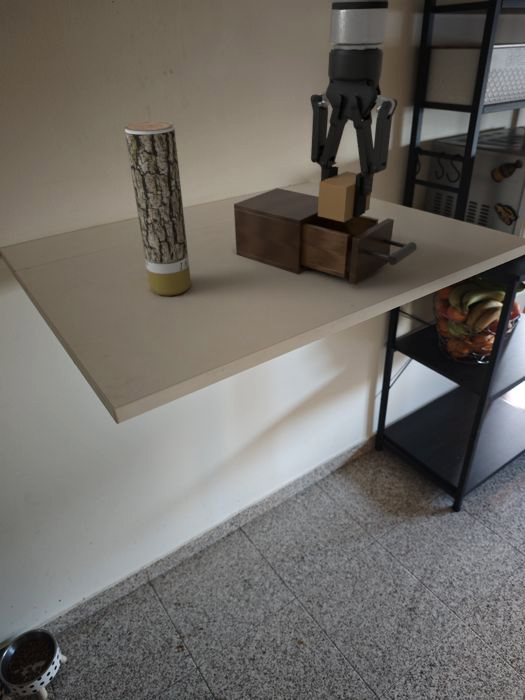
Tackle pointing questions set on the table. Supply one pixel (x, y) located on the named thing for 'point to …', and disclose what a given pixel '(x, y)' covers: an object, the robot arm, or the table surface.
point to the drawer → (350, 246)
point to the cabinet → (274, 227)
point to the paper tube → (159, 205)
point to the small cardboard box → (338, 197)
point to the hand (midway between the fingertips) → (343, 211)
